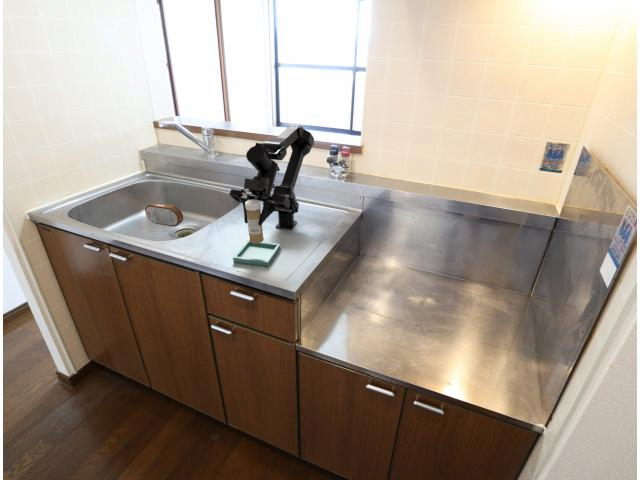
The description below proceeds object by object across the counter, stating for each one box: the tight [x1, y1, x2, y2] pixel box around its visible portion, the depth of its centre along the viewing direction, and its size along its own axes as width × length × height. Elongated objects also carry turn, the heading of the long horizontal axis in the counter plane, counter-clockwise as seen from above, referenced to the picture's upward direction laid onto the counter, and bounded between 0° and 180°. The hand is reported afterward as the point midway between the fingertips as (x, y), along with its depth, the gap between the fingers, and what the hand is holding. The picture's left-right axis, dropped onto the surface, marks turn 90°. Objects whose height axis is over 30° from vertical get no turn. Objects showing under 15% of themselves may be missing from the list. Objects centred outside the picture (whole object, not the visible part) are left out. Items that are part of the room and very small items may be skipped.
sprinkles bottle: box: [245, 200, 265, 244], centre depth 115 cm, size 5×5×13 cm
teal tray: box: [232, 239, 281, 268], centre depth 121 cm, size 12×12×2 cm
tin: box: [144, 201, 184, 227], centre depth 139 cm, size 15×3×8 cm, turn 73°
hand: (252, 224), depth 114 cm, fingers closed on sprinkles bottle, 4 cm apart
